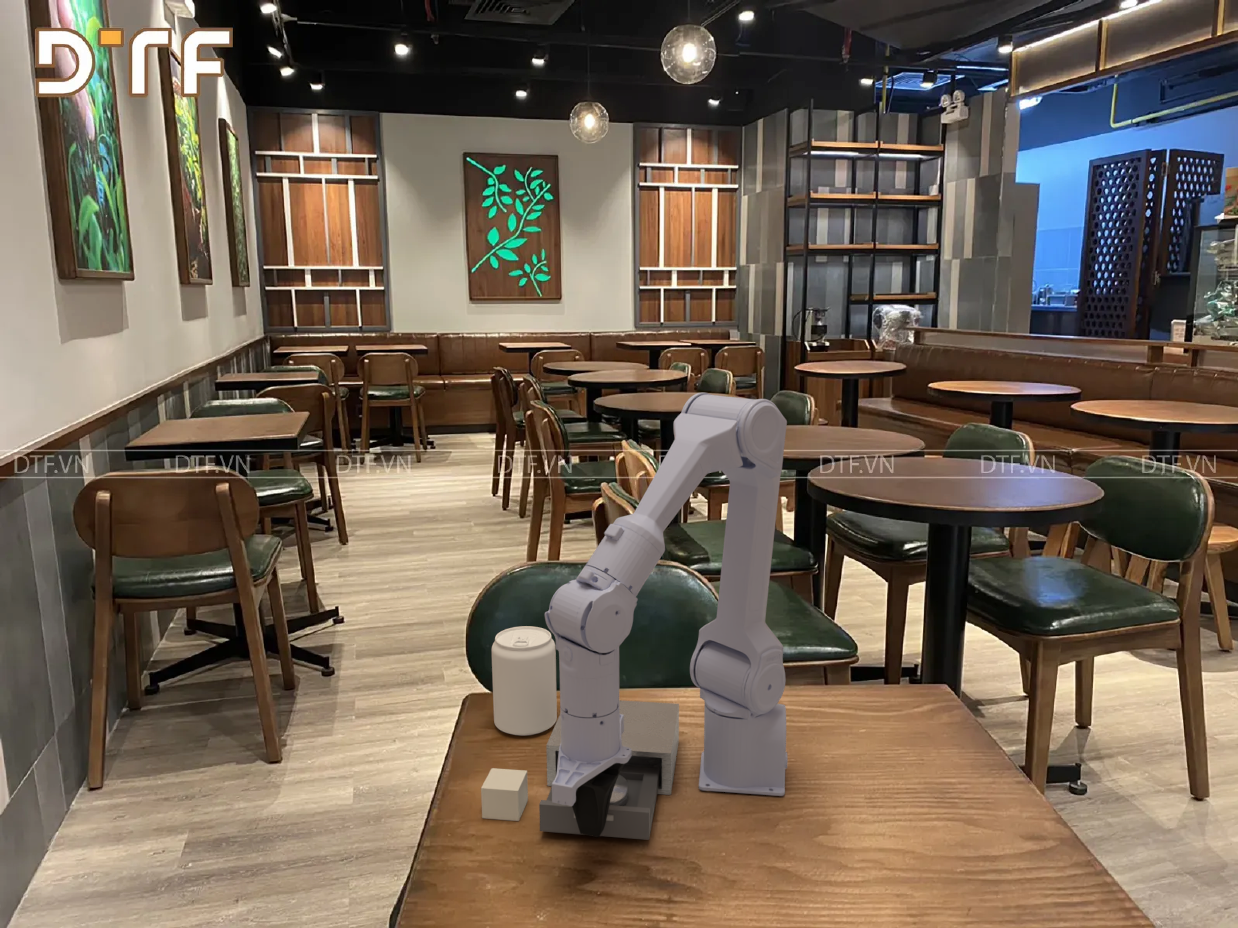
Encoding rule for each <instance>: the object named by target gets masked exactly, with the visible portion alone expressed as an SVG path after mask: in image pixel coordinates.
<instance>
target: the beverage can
mask: <svg viewBox="0 0 1238 928" xmlns="http://www.w3.org/2000/svg"><path fill="white" fill-rule="evenodd" d="M556 651H557V650H556V642H555V641H554V639H553V638H552V632H551V631H550V630H547V629H546V628H542V627H540V626H539V627H538V626H527V625H526V626H522V625H521V626H513V627H510V628H505V629H504V630H501V631H500V632H498V633H497V634H496V635H495V638H494V642H493V643H492V646H491V667H492V668H491V672H492V674H491V675H492V699H493V700H492V701H493V721H494V725H495V727H496V728H497V729H498V730H500V731H501V732H503V733H506V734H510V735H514V736H525V737H526V736H533V735H537V734H540V733H543V732H545V731H547V730H548V729H550V728H552V727H553V726H555V725H556V722H557V720H558V717H557V716H558V714H557V713H558V711H557V710H558V709H557V708H558V702H557V697H558V696H557V659H556V658H557V657H556V655H557V654H556Z"/></svg>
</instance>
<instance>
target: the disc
mask: <svg viewBox="0 0 1238 928" xmlns="http://www.w3.org/2000/svg"><path fill="white" fill-rule="evenodd" d="M627 801H628V783H627V781H626V779H625V778H624V777H622V776H621V775H619V776H618V778H617V780H616V783H615V786H614V789H613V792H612V796H611V800H610V804H609V805H615V806H624V805H625V804H626V803H627Z"/></svg>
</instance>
